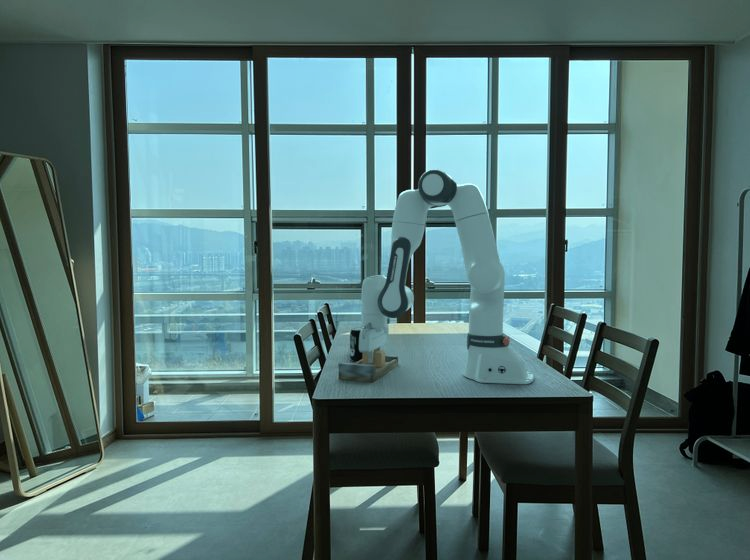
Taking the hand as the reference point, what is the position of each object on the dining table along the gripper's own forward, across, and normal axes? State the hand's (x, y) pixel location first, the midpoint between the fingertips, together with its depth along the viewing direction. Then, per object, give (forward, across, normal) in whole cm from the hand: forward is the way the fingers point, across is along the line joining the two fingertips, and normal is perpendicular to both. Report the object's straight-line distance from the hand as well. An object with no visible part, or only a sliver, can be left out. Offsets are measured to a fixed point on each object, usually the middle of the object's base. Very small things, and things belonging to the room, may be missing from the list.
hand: (373, 360), depth 181 cm
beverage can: (+3, +11, +10) cm, 15 cm away
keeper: (+2, 0, 0) cm, 2 cm away
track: (+3, -4, 0) cm, 5 cm away
